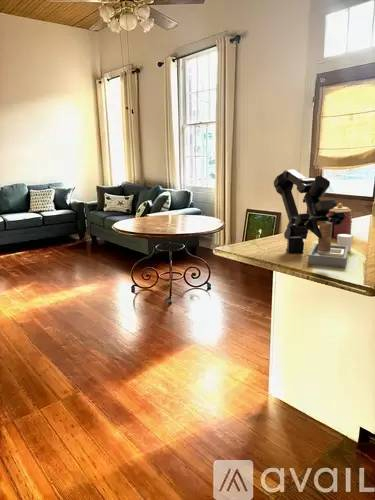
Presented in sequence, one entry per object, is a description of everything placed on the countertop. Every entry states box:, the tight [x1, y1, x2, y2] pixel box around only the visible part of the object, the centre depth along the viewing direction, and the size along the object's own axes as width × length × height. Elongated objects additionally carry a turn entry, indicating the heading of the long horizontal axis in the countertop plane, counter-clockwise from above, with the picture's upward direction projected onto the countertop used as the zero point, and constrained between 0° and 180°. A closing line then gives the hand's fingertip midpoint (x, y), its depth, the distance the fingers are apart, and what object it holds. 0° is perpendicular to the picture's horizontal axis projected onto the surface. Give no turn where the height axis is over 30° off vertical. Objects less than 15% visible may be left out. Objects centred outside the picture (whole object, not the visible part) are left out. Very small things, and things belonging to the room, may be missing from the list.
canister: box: [327, 202, 354, 239], centre depth 194 cm, size 13×13×18 cm
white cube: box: [336, 234, 354, 252], centre depth 168 cm, size 7×7×7 cm
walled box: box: [307, 243, 349, 269], centre depth 155 cm, size 14×20×5 cm
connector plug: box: [317, 221, 333, 255], centre depth 141 cm, size 5×5×12 cm
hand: (326, 237), depth 139 cm, fingers closed on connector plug, 5 cm apart
